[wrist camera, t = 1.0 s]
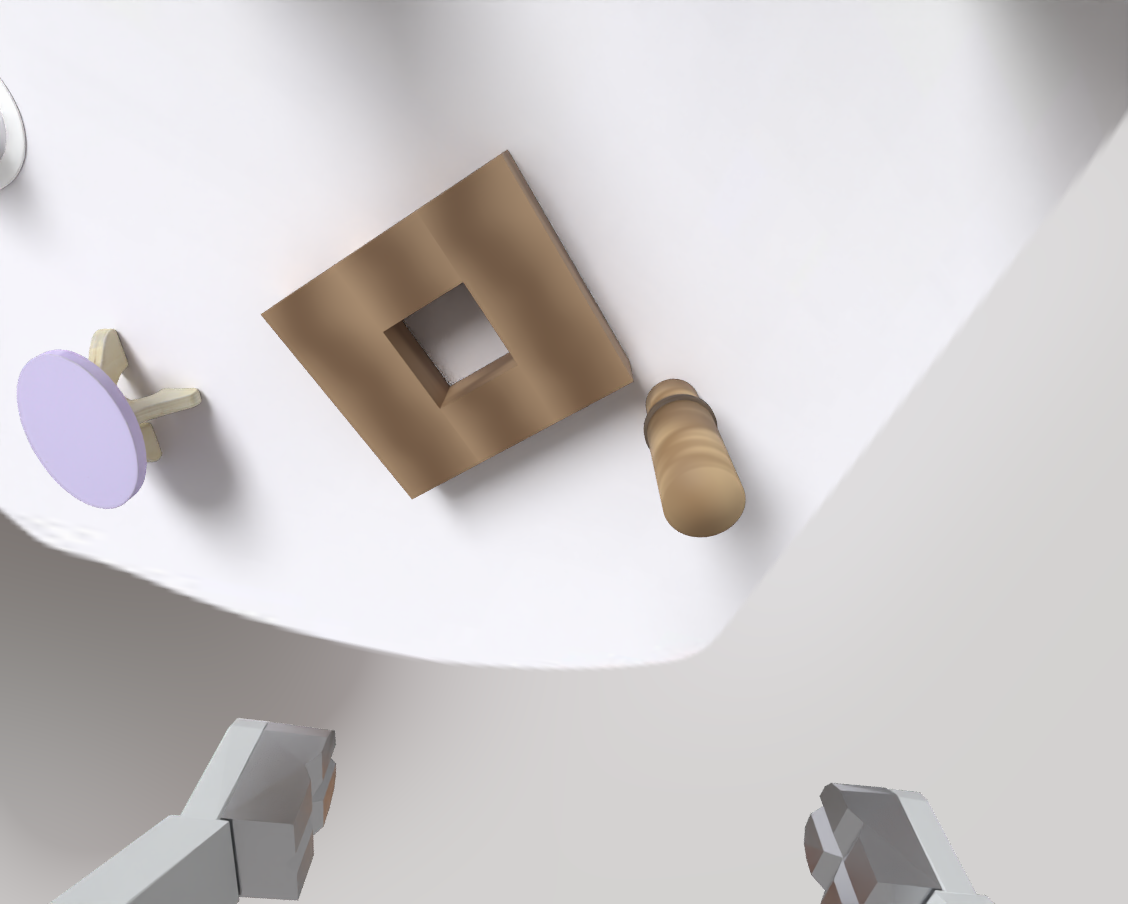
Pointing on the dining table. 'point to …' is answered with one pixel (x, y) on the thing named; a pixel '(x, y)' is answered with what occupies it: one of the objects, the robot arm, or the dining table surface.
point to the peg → (691, 462)
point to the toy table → (93, 421)
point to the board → (507, 298)
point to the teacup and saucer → (11, 138)
